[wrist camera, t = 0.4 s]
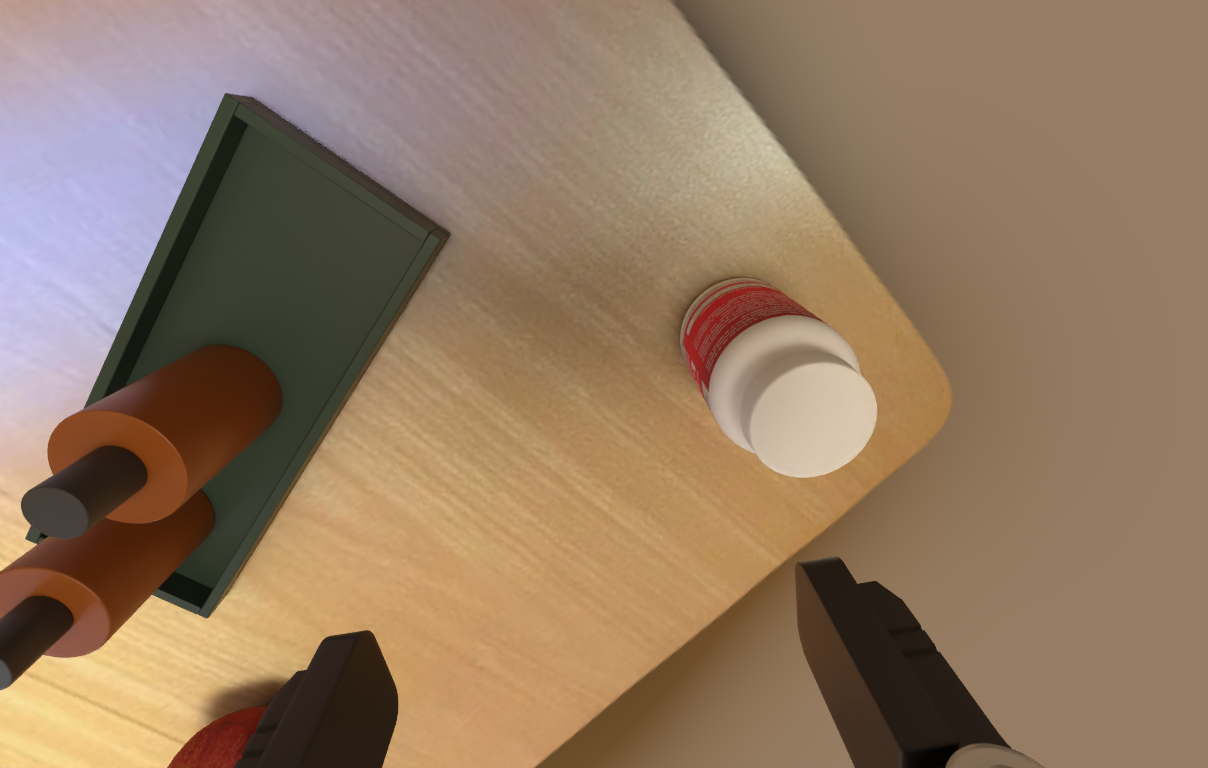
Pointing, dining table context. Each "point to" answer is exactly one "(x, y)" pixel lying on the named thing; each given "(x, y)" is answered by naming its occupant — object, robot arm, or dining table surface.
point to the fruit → (220, 741)
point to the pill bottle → (777, 378)
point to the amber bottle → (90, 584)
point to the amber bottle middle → (153, 442)
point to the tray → (269, 308)
